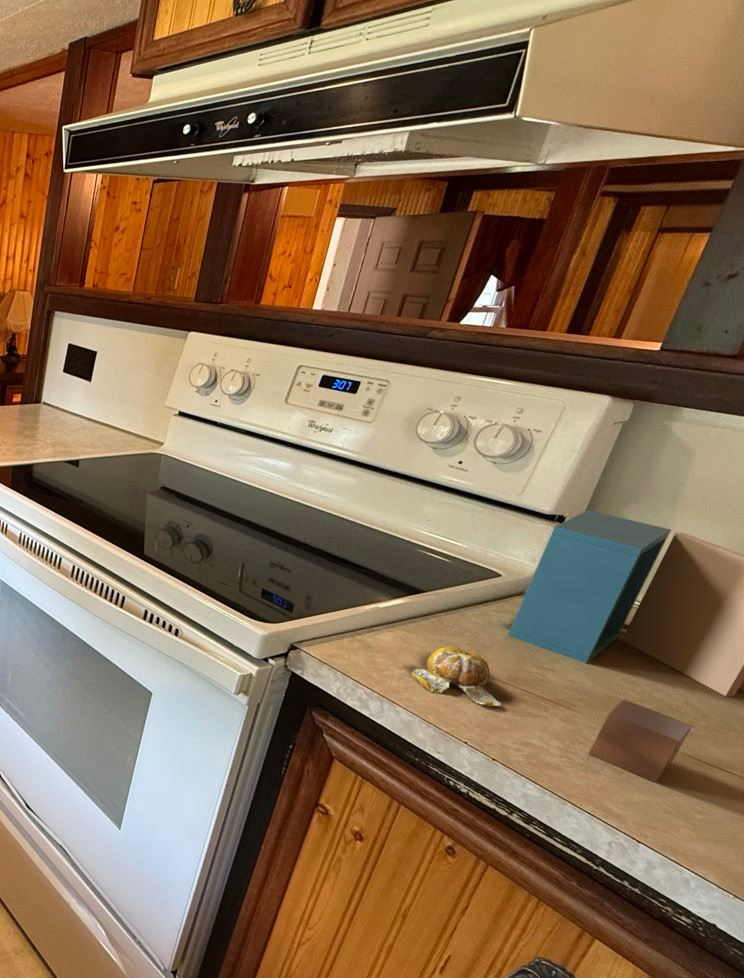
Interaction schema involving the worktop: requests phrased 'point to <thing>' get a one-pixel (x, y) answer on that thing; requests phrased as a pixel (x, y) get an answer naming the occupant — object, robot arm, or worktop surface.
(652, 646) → the tan rectangular box
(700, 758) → the worktop surface
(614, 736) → the block
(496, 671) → the worktop surface
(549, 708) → the worktop surface
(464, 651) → the fruit
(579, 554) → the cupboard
